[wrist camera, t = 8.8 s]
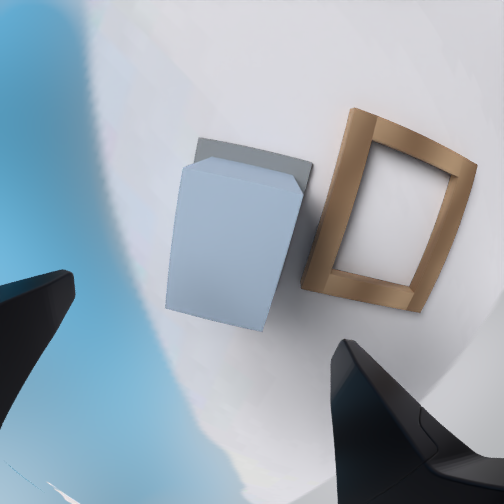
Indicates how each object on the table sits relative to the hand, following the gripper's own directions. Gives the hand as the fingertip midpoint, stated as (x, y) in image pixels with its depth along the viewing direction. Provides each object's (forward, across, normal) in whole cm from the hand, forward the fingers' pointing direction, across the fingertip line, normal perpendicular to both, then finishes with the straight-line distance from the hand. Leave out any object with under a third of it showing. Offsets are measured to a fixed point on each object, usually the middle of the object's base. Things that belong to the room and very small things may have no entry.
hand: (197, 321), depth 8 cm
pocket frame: (+11, -10, -3) cm, 15 cm away
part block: (+11, 0, 0) cm, 11 cm away
